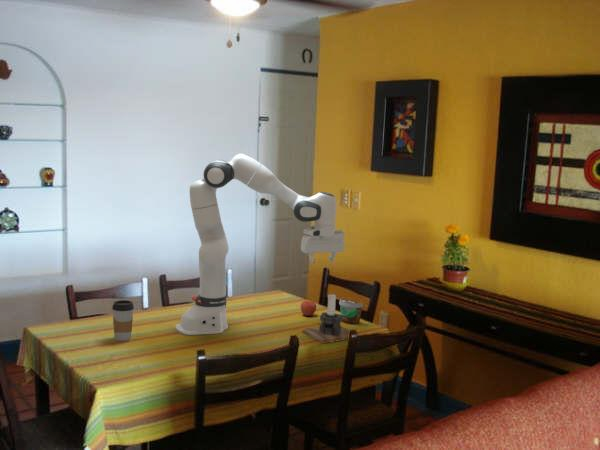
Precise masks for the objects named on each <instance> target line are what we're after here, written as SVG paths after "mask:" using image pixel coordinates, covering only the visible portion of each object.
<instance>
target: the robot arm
mask: <svg viewBox="0 0 600 450" xmlns="http://www.w3.org/2000/svg"><path fill="white" fill-rule="evenodd" d="M232 180H238V182H241V183H242V184H243V185H244V186H247V187H248V188H250V190H253V191H255V192H257V193H260V194H267V195H268V194H269V195H272V196H274V197H276V198H277V199H279V200H280V201H282V202H283V203H285V204H286V205H288V206H289V207H290V208H291V209H292V210H293V214H294V217H295V219H297V220H298V221H300V222H302V223H308V222H314V224H313V225H311V226H308V227H306V228H304V229H303V234H304V235H302V238H301V242H300V250H301V252H302V253H304V254H308V257H309V263H310V264H316V259H315V258H314V257H313V256H314V254H317V253H319V254H321V253H322V254H324V253H330V254H331V255H330V257H328V262H329V263H335V262H334V261H335V257H336V256H337V253H341V252H344V251H345V232H344V231H343V230H341V229H339V230H336V216H337V207H338V205H337V198H336V196H335V195H334V194H333V193H330V192H325V191H318V193H316V194H314V195H312V196H309V195H306V194H305V195H304V194H299V192H296V191H295V190H293V189H291V188H290V187H288V186H287V185H285V184H284V183H283V182H282V181H280V179H278V177H277V176H276V175H275V174H274V173H273V172H272V171H271V170H270V169H269V168H268V167H266V165H264V164H262V163H261V162H259V160H257V159H255V158H253V157H252V156H251V157H250V156H248V155H247V154H244V153H237V154H236V155H234V156H233V157H232V158H231V160H230V161H228V162H227V161H225V160H223V159H216V160H213V161H210V162H209V163H208V164H207V165H206V166H205V167H204V170H203V177H202V178H201V179H198V180H197V179H196V181H193V182H192V183H191V185H190V186H189V199H190V201H189V202H190V207H191V213H192V217H193V221H194V226H195V230H196V231H197V234H198V236H199V240H200V244H201V245H200V247H199V249H198V269H199V270H198V271H199V293H198V296H196V295H192V296H191V297H190V299H191V300H192V302H195V303H194V304H193V305H192V306H191V307H189V308H188V309H187V310H185V311H184V312H183V313H182V314H181V319H180V322H179V323H176V324H175V327H174V328H175V330H176V331H177V332H178V333H180V334H183V335H185V336H195V335H196V336H197V335H198V336H199V335H215V334H223V333H224V331H226V330H227V329H229V325H228V320H227V312H226V308H227V294H226V292H227V290H226V289H227V285H226V284H227V274H226V257H227V256H228V253H229V245H228V239H227V236H226V233H225V229H224V226H223V223H222V220H221V214H220V209H219V204H218V198H217V189H220V188H223V187H225V186H226V185H228V184H229V182H231V181H232Z"/></svg>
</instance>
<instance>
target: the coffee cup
mask: <svg viewBox="0 0 600 450" xmlns="http://www.w3.org/2000/svg"><path fill="white" fill-rule="evenodd" d="M133 303H134V302H133V301H131V300H126V299H125V300H124V299H123V300H122V299H121V300H115V301H114V302H113V304H112V308H111V309H112V321H113V334H114V337H113V338H114V339H115V341H116V342H128V341H130V340H131V338H132V330H133V319H134V317H133V315H134V309H135V308H134V304H133Z"/></svg>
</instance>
